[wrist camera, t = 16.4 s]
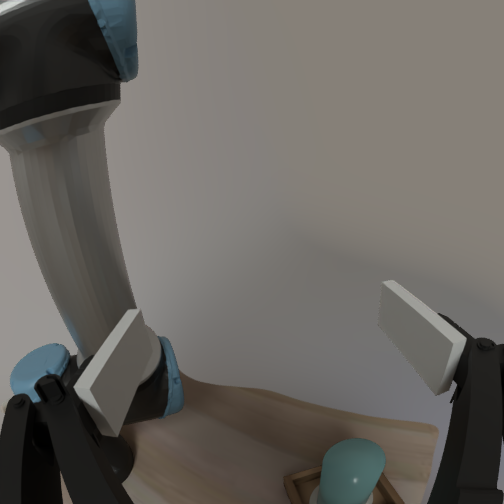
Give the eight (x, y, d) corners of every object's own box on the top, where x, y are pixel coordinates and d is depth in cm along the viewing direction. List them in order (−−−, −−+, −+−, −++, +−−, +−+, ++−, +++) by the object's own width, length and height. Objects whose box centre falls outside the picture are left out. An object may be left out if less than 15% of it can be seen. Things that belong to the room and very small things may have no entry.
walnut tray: (310, 550, 18) (312, 546, 17) (283, 484, 31) (283, 476, 30) (399, 512, 20) (406, 505, 20) (362, 457, 33) (365, 448, 32)
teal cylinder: (327, 526, 21) (337, 496, 18) (309, 491, 28) (313, 451, 25) (374, 506, 22) (396, 468, 20) (354, 475, 29) (367, 430, 26)
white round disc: (321, 534, 20) (321, 533, 20) (300, 489, 29) (300, 488, 29) (382, 508, 22) (383, 507, 22) (357, 469, 30) (357, 467, 30)
